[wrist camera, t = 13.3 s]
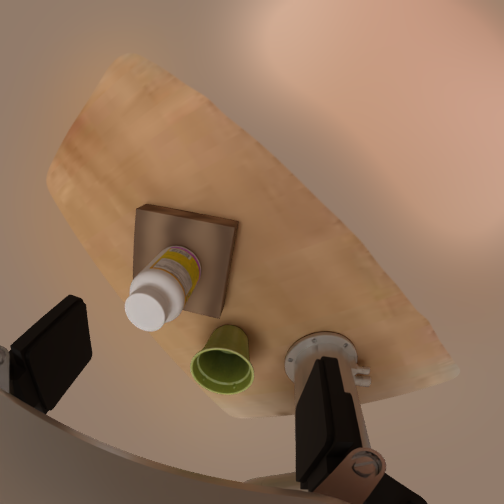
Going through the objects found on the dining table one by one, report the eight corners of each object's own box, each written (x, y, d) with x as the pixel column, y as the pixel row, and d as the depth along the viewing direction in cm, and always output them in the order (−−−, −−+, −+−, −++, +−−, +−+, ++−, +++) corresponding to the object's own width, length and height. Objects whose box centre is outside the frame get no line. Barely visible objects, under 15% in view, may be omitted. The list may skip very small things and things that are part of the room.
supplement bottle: (170, 293, 43) (135, 344, 31) (150, 253, 41) (105, 293, 29) (210, 280, 42) (184, 332, 30) (190, 237, 40) (154, 276, 28)
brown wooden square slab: (238, 221, 42) (234, 227, 39) (223, 307, 47) (219, 318, 44) (146, 203, 42) (136, 208, 39) (141, 287, 47) (132, 296, 44)
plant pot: (264, 323, 47) (260, 357, 39) (251, 365, 51) (246, 400, 42) (207, 309, 47) (193, 340, 39) (200, 353, 51) (187, 386, 43)
